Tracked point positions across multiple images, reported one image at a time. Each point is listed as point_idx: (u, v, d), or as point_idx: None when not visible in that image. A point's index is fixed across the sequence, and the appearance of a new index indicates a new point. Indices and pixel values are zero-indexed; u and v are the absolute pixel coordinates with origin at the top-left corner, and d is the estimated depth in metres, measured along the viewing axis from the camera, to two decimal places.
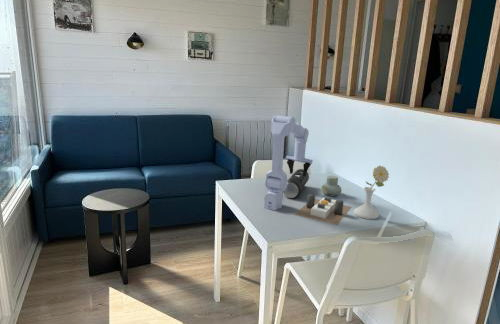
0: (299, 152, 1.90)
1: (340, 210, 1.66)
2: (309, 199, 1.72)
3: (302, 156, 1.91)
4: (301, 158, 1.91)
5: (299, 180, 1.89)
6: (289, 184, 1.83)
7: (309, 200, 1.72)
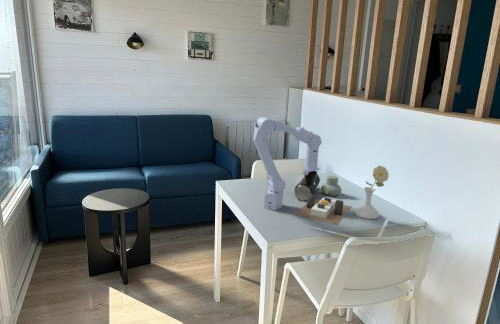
0: None
1: (340, 210, 1.66)
2: (309, 199, 1.72)
3: (306, 164, 1.72)
4: (305, 166, 1.73)
5: None
6: (308, 190, 1.81)
7: (309, 200, 1.72)
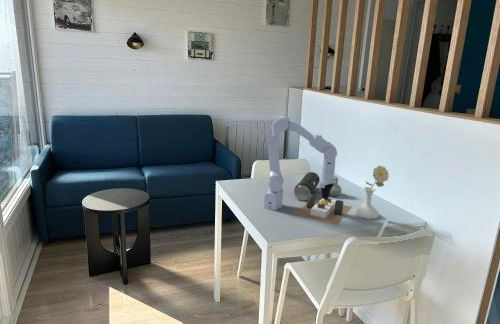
0: None
1: (340, 210, 1.66)
2: (309, 199, 1.72)
3: (322, 177, 1.66)
4: (321, 179, 1.66)
5: None
6: (307, 190, 1.81)
7: (309, 200, 1.72)
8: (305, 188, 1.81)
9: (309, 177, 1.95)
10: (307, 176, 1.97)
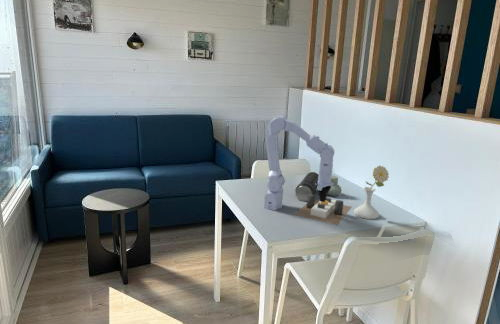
0: None
1: (340, 210, 1.66)
2: (309, 199, 1.72)
3: (319, 179, 1.62)
4: (318, 181, 1.63)
5: None
6: (309, 191, 1.80)
7: (309, 200, 1.72)
8: (307, 189, 1.81)
9: (311, 178, 1.95)
10: (309, 176, 1.97)
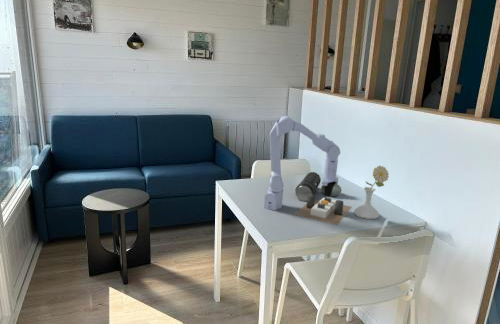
0: (324, 169, 1.70)
1: (340, 210, 1.66)
2: (309, 199, 1.72)
3: (325, 175, 1.69)
4: (324, 177, 1.70)
5: None
6: (309, 191, 1.80)
7: (309, 200, 1.72)
8: (307, 189, 1.81)
9: (311, 178, 1.95)
10: (309, 176, 1.97)
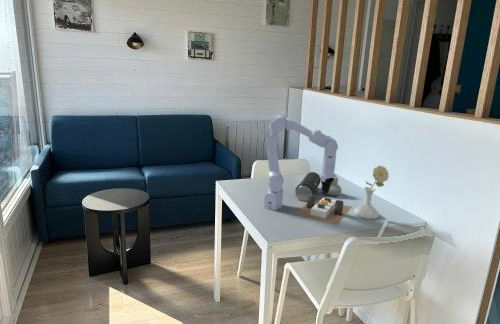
0: (322, 165, 1.66)
1: (340, 210, 1.66)
2: (309, 199, 1.72)
3: (323, 171, 1.65)
4: (322, 173, 1.66)
5: None
6: (309, 191, 1.80)
7: (309, 200, 1.72)
8: (307, 189, 1.81)
9: (311, 178, 1.95)
10: (309, 176, 1.97)
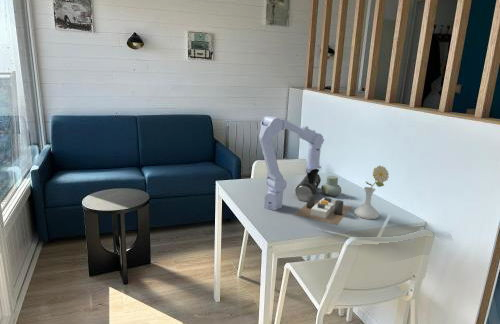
0: None
1: (340, 210, 1.66)
2: (309, 199, 1.72)
3: (308, 162, 1.76)
4: (307, 164, 1.77)
5: None
6: (309, 191, 1.80)
7: (309, 200, 1.72)
8: (307, 189, 1.81)
9: None
10: None
